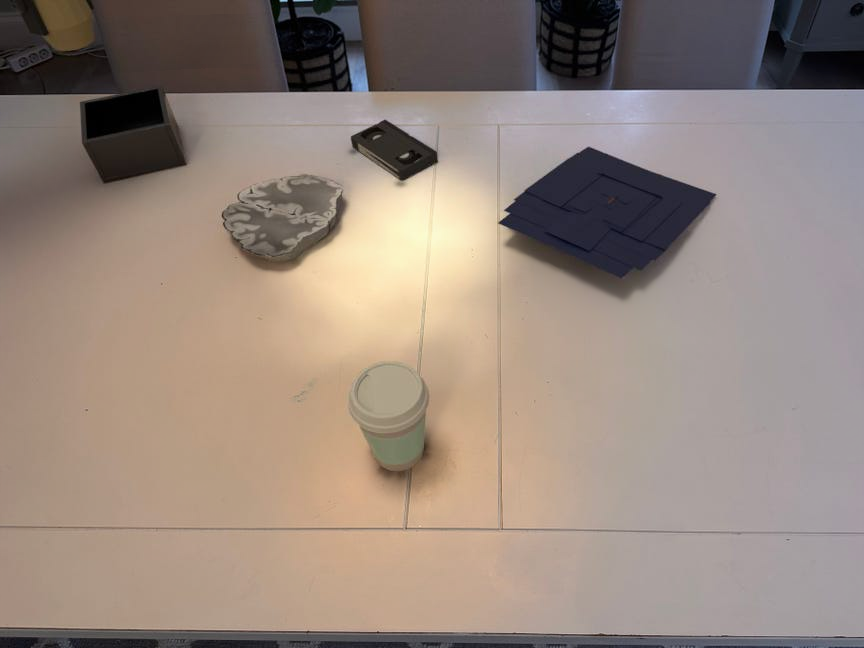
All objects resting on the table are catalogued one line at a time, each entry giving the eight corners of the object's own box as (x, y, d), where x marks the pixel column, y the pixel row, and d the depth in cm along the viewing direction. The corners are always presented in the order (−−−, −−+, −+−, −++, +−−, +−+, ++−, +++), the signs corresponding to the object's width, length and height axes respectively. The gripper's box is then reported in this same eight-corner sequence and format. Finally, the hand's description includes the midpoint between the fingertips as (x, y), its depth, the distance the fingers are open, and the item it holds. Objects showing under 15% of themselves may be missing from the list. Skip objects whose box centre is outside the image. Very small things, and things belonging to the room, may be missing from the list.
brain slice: (269, 180, 113) (264, 165, 111) (360, 200, 109) (358, 184, 107) (201, 254, 101) (195, 239, 99) (301, 279, 97) (296, 264, 95)
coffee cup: (382, 411, 82) (368, 347, 73) (446, 432, 80) (440, 369, 71) (349, 468, 77) (329, 407, 68) (416, 492, 75) (406, 433, 66)
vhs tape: (351, 146, 119) (349, 136, 117) (386, 129, 122) (385, 119, 121) (401, 181, 112) (400, 171, 111) (437, 162, 116) (436, 151, 114)
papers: (485, 233, 101) (487, 213, 99) (584, 160, 119) (587, 141, 117) (630, 300, 92) (635, 279, 89) (713, 209, 110) (720, 189, 107)
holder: (103, 183, 113) (81, 142, 107) (100, 142, 121) (79, 101, 115) (186, 165, 116) (169, 124, 110) (177, 125, 124) (161, 85, 118)
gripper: (-90, -153, 71) (25, 57, 89) (58, -198, 83) (134, -5, 101) (-138, -160, 73) (-16, 48, 91) (14, -203, 85) (95, -12, 103)
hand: (63, 20), depth 96 cm, fingers closed on squeeze bottle, 8 cm apart
